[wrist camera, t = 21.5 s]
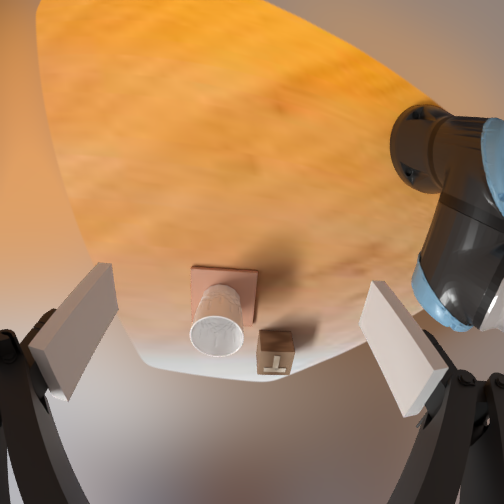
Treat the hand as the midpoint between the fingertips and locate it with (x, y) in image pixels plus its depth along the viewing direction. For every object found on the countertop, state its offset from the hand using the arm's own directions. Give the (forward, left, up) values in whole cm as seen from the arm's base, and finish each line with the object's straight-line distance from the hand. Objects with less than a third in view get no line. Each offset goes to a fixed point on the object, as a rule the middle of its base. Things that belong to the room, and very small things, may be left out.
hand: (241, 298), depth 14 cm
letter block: (-8, +30, -32) cm, 44 cm away
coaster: (+2, +20, -32) cm, 38 cm away
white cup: (+2, +20, -31) cm, 37 cm away
